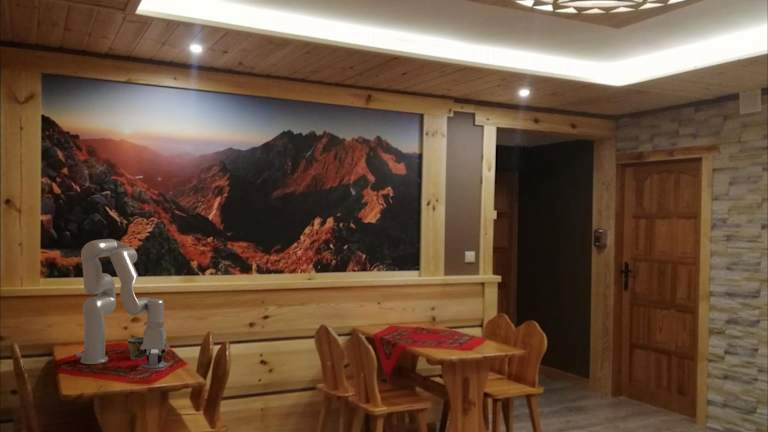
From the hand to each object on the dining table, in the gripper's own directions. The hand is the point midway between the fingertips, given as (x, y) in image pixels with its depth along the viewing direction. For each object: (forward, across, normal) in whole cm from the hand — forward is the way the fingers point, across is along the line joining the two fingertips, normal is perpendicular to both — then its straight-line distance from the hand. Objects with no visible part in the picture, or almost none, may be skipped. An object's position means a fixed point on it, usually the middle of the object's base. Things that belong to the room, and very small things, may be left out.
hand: (154, 362), depth 326 cm
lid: (+2, 0, 0) cm, 2 cm away
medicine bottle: (+3, -12, +27) cm, 30 cm away
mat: (+2, 0, 0) cm, 2 cm away
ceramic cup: (+2, -13, +13) cm, 19 cm away
